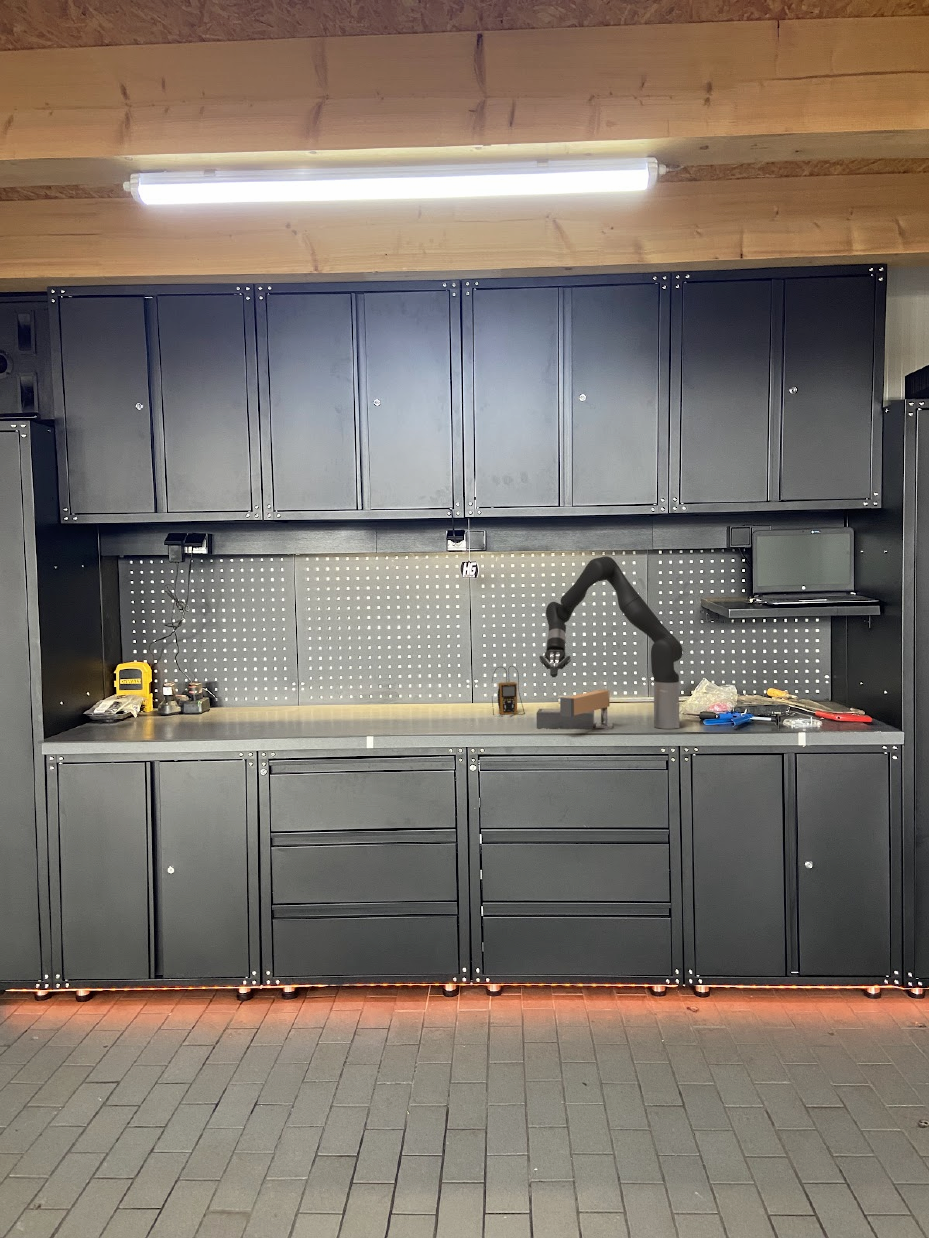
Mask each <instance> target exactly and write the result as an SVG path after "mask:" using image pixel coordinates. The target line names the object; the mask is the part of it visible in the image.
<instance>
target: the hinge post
mask: <svg viewBox="0 0 929 1238" xmlns="http://www.w3.org/2000/svg"><path fill="white" fill-rule="evenodd" d="M612 726H613V727H614V725H613V723H608V707H606V708H602V709H600V722H596V724H595V729H596V728H606V729H607V730H612V729H613V727H612Z"/></svg>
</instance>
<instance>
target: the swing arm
mask: <svg viewBox="0 0 929 1238" xmlns="http://www.w3.org/2000/svg"><path fill="white" fill-rule="evenodd" d="M610 698H611V697H610V690H609V689H597V690H594V691H589V692H585V693H581V694H575V695H571V696H566V697H564V696H563V697H560V699H559V700H560V702H559V704H560V707H559V709H560V716H566V717H573V716H574V715H578V714H582V713H586V712H590V711H594V712H595V711H597V710H601V709H602V708H606V707H607V708H609V707H610V706H611V705H610V701H611V700H610Z"/></svg>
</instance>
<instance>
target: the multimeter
mask: <svg viewBox="0 0 929 1238" xmlns="http://www.w3.org/2000/svg"><path fill="white" fill-rule="evenodd" d="M510 667H513V668H515V666H513V665H509V667H508V672H507V669H506V668H505V667H503V666H501V668H503V669H504V670H505V682H499V683H498V689H497V704H498V705H497V706H498V715H499V716H498V717H504V715H509V716H508V717H510V716H511V717H513V716H515V715H516V716H517V715H518V716H519V715H520V716H521V713H518V695H519V700H520V703H521V707H522V710H523V715H525V714H526V712H525V708H524V706H523V702H522V698H521V693H520V686H519V684H520V683H519V682H520V681H519V678H520V677H519V671H518V669H517V668H515V669H516V673H517V682H515V681H511V679H510V675H508V674H510ZM497 669H500V666H497V667H496V668H495V670H494V671H493V675H492V679H491V682H494V675H495V673H496V670H497ZM507 673H508V674H507ZM491 703H492V706H494V701H493V697H491ZM494 711H495V710H494V709H492V713H493V714H492V715H495V713H494ZM502 714H504V715H502Z"/></svg>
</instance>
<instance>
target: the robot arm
mask: <svg viewBox="0 0 929 1238" xmlns="http://www.w3.org/2000/svg"><path fill="white" fill-rule="evenodd" d="M603 581H607V582H608V583H609V584H610V585H611V586H612V588H613V589H614V591H615V592H616V593H615V594H616V598H617V603H618V604H617V605H618V607H619V609H620V611H621V613H622V614H623V616H625V618H626V619H627V621H629V623H631V625H633V626H634V627H635V628H636V629H638V630H639V631H640V632H643V633H644V634H645V635H646V636H648V638H650V639H651V641H652V642H653V644H652V646H651V648H650V649H651V650H650V663H651V674H652V676H653V727H654V728H656V729H664V730H665V729H666V730H667V729H669V730H670V729H671V730H673V729H680V675H679V673H677V672H676V671H675V664H674V663H675V662H677V661H679V660H681V658H682V657H683V653H684V652H683V650H684V649H683V647H682V644H681V643H680V641H679V639H677V638H676V637H675V636H674V635H673V634H672V633H671V632H670V631H669V630H668V629H667V628H666V627H665V626H664V624H662V622H661V621H660V619H658V617H657V615H656V614H655V613H654V612H653V611H652V609H651V608H650V607H649V606H648V604H647V602H646V601H645V600H644V599H643V598H642V596H640V594H639V593H638V592H637V590H636V589H635V588H634V587H633V585H632V584H631V582H630V581H629V580H628V578H627V577H626V576H625V574H624V573H623V571H622V570H621V567H620V566H619V564H618V563H617V562H616V560H614V559H613V558H612V557H610V556H607V555H606V556H601V557H595V558H593V559H590V561H588V562H587V564H586V566H585V567H584V569H583V571H582V572H581V574H580V575H579V577H578V578H577V579H576V580H575V582H574V583H573V585H572V586H570V588H569V589H568V590H567V591H566V592H565V593H564V594H563V595H562V597H560V603H559V602H557V601H551V602H550V603H548V605H547V606H546V608H545V616H546V620H547V623H548V634H547V637H546V638H547V639H546V651H545V653H544V655H539V657H538V658H539V662H540V663H541V664H542V665H543V666H544V668H545V669H547V670H549V675H550V677H551V678H556V677H557V676H558V674H559V670H563V669H564V668H565V667H566V666H568V664H569V663H570V662H571V656H570V655H567V653H566V642H567V640H566V639H567V637H566V636H567V635H566V633H567V625H566V624H567V622H569V621H570V619H571V617H572V614H573V612H574V611H575V609H576V608H577V606H578V605H579V604H580V603H582V601H583V600H584V599H585V598H586V595H587V592H588V589H589V588H590V587H592V586H593V585H595V584H596V583H598V582H603Z"/></svg>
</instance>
